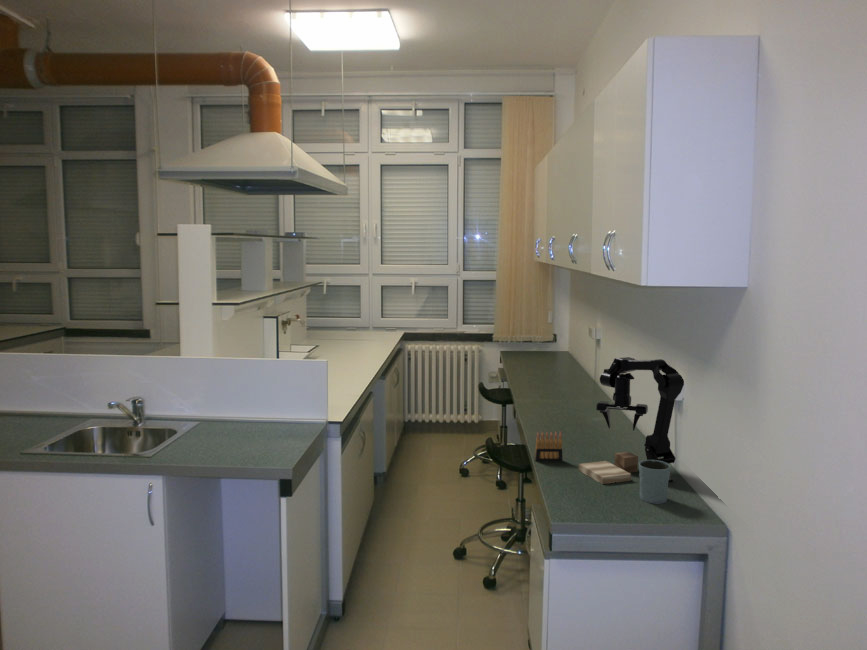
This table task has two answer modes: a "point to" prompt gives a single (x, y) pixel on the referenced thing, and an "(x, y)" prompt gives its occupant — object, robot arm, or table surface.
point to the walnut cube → (626, 461)
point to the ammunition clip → (548, 448)
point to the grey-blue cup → (654, 481)
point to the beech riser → (604, 472)
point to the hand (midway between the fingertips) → (621, 429)
